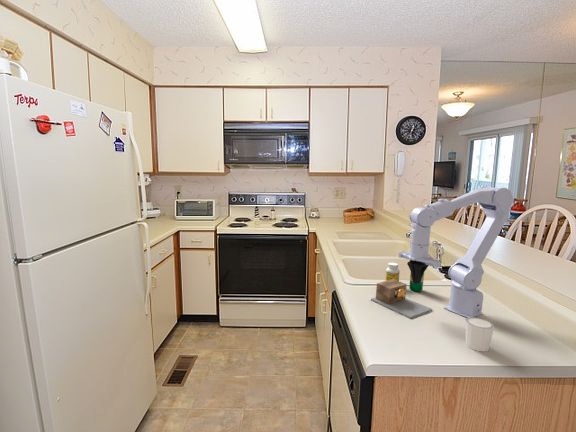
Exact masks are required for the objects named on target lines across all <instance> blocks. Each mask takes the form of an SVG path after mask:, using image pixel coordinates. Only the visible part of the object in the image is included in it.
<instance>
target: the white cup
mask: <svg viewBox="0 0 576 432" xmlns="http://www.w3.org/2000/svg"><path fill="white" fill-rule="evenodd" d="M494 329H495V326H494V324H493V323H492V322H490V321H489V320H487V319H484V318H482V317H481V318H480V317H470V318H467V317H465V336H464V337H465V340H464V341H465V346H466V345H467V346H468V348H469V349H470V348H471V350H473V351H475V350H477V351H476V352H479V351H483V353H484V351H486V352H488V351H489V350H490V349H489V348H490V345H491V341H492V338H493V334H494V333H493V332H494ZM467 346H466V347H467Z"/></svg>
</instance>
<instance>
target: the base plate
mask: <svg viewBox="0 0 576 432" xmlns="http://www.w3.org/2000/svg"><path fill="white" fill-rule="evenodd" d="M370 301H372V302H374V303H376V304H378V305H380V306H383V307H385V308H386V309H389V310H391V311H393V312H395V313H397V314H399V315H402V316H404V317H405V318H408V319H410V320H411V319H414V318H416V317H419V316H421V315H424V314H427V313H430V312H432V311H433V308H431V307H428V306H426V305H424V304H421V303H419V302H417V301H415V300H412V299H409V298H407V297H405V300H403V301H399V302H396V303H393V304H390V305H388V304H386V303H384V302H381V301H379V300H377V299H376V296H375V297H372V298H370Z"/></svg>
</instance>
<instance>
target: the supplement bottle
mask: <svg viewBox="0 0 576 432" xmlns="http://www.w3.org/2000/svg"><path fill="white" fill-rule="evenodd" d="M392 279H394V280H397V281H399V282H400V269H399V264H398V263H396V262H388V263H387V267H386V269H385V281H388V280H392Z"/></svg>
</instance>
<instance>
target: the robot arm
mask: <svg viewBox="0 0 576 432" xmlns="http://www.w3.org/2000/svg"><path fill="white" fill-rule="evenodd" d="M514 201H515V199H514V196H513V193H512V192H511V190H510V189H508V188H506V187H493V186H487V185H486V186H481V187H478V188H475V189H473V190H472V191H468V192H467V193H465V194H462V195H460V196H458V197H455V198H453V199H451V200H450V199H447V198H438V199H437V201H436V202H433V203H430V204H424V207H419V206H418V207H416V208H413V209H412V210H411V212H410V214H409V215H408V217H409V221H410V222H411V237H410V244H409V245H410V246H409V247H410V248H409V251H408V252H407V251H399V252H398V258H400V259H401V258H403V259H406V260H409V261H407V263H406V264H407V267H408V269H409V271H410V273H411V274H412V279H413V283H416V284H417V283H420V281H421V278H422V276H423V274H424V275H425V271H426V270H427V269H428V267H429V266H431V267H433V268H435V269H438V268H441V261H440V260H437V259H434V258H431V257H429V250H430V237H431V227H432V226H433V225H434V223H435V222H436V221H439V220H443V219H444V218H448V217H451V216H452V215H453V214H455V213H454V212H455V211H456V210H459V209H462V208H465V207H467V206H471V205H473V204H479V205H480V206H481V208H482V210H483V212H485V214H486V218H485V220H484V221H483V223H482V225H481V227H480V228H479V231H478V232H477V234H476V235H475V237H474V239H473V241H472V243H471V244H470V246H469V248H468V249H467V251H466V253H465V255H463V257H460V258H458V259H456V261H455V263H454V264H452V265H451V266H450V267H449V269H448V277H449V279H450V282H451V285H450V294H449V297H450V298H449V304H448V305H444V306H443V309H444V310H447V311H450V312H452V313H454V314H457V315H459V316H462V317H464V318H470V317H475V318H477V317H478V316H480V315H482V314H483V310H482V309H483V301H484V294H483V292H482V291H480V290H478V288H479V287H480V285H481V284H482V278H483V275H484V273H485V270H484V268H483V265H482V264H483V262H484V260H485V259H486V257H487V255H488V253H489V252H490V250H491V248H492V247H493V245H494V243H495V241H496V240H497V238H498V236H499V234H500V233H501V231H502V229H503V228H504V225H506V222H507V220H508V218H509V214H510V208H511V207H512V205H513V204H514Z"/></svg>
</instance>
